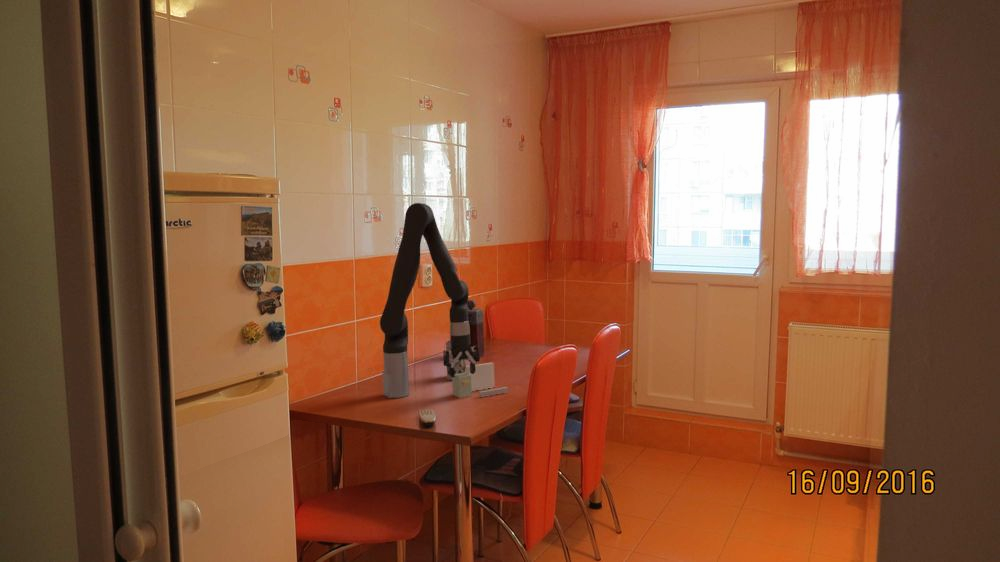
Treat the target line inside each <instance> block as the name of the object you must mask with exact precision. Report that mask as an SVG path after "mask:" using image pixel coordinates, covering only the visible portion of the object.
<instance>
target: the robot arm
mask: <svg viewBox="0 0 1000 562" xmlns="http://www.w3.org/2000/svg"><path fill="white" fill-rule="evenodd" d="M404 215H405V216H404V224H403V231H402V238H401V241H400V244H399V247H398V250H397V254H396V259H395V262H394V266H393V270H392V274H391V280H390V284H389V289H388V295H387V300H386V303H385V305H384V309H383V311H382V314H381V316H380V321H379V327H380V330H381V332H382V333H383V334H384V342H383V344H382V353H383V371H382V372H381V375H382V390H383V391H382V393H383V396H384V397H386V398H388V399H394V398H395V399H396V398H397V399H398V398H404V397H407V396H409V395H410V382H409V381H410V380H409V361H408V360H409V359H408V358H409V357H408V356H409V355H408V343H409V325H408V324H409V321H408V318H407V315H406V314H405V311H406V310H405V309H406V305H407V301H408V300H409V296H410V295H411V293H412V291H413V288H414V285H415V284H416V280H417V279H418V278H417V277H418V273H419V269H420V266H421V265H420V264H421V243H422V238H424V240H425V243H426V246H427V248H428V250H429V251H428V252H429V255H430V257H431V260H432V263H433V265H434V267H435V269H436V271H437V273H438V275H439V277H440V281H441V283H442V286H443V289H444V292H445V295H446V296H447V297H448V299H450V300H451V301H450V302H451V303H450V308H449V338H450V340H451V350H450V351H446V349H445V350H443V366H445V367H446V368H447V367H449V375H450V376H451V377H455V374H454V365H455V363H457V361H458V360H462V359H466V360H467V361H468V362H469V366H470V373H471V374H474V372H475V371H476V370H475V365H476V363H479V362H480V359H481V358H479V349H478V347H477V346H473V347H471V346H470V344H471V343H470V327H469V321H468V301H469V287H468V285H467V283H466V282H465V281H464V280H462V279H460V278H459V275H458V273H457V271H458V269H457V266H456V264H455V262H454V260H453V258H452V256H451V253H450V252H449V250H448V247H447V245H446V244H445V242H444V240H443V238H442V235H441V233H440V230H439V228H438V224H437V221H436V218H435V215H434V211H433V209H432V208H431V206H430V205H428V204H426V203H420V202H415V203H412V204H411V205H410V206H409V207H408V208H407V209H406V212H405V214H404ZM450 340H449V341H450ZM471 350H472V352H473V355H474V359H473V357H472V356H471V355H470V352H471ZM450 354H452V355H453V356H452V357H451V359H450V362H449V356H450Z"/></svg>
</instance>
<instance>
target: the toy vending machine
mask: <svg viewBox="0 0 1000 562" xmlns="http://www.w3.org/2000/svg"><path fill="white" fill-rule="evenodd" d="M476 306H477V303H476V301H475V300H474V299H468V321H469V327H470V343H471V344H470V346H471V347H473V346H477V347H478V349H479V358H480V357H481V358H483V357H484V356H485V335H484V334H485V333H484V329H485V328H484V310H483V308H482V307H481V308H479V307H478V308H477V307H476ZM470 355H471V356H472V357H473V358H474V355H473V352H472V350H471V352H470ZM483 355H484V356H483ZM482 356H483V357H482ZM481 358H480V359H481Z"/></svg>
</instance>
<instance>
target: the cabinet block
mask: <svg viewBox="0 0 1000 562" xmlns="http://www.w3.org/2000/svg"><path fill="white" fill-rule="evenodd" d="M451 381H452V383H451V384H452V396H454V395H455V396H454V397H456V396H457V398H458V397H459V399H462V398H461V397H464V398H467V397H466V396H470V397H472V396H473V395H472V391H471V375H468V374H466V373H459V374H455V377H452V380H451ZM471 395H472V396H471Z"/></svg>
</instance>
